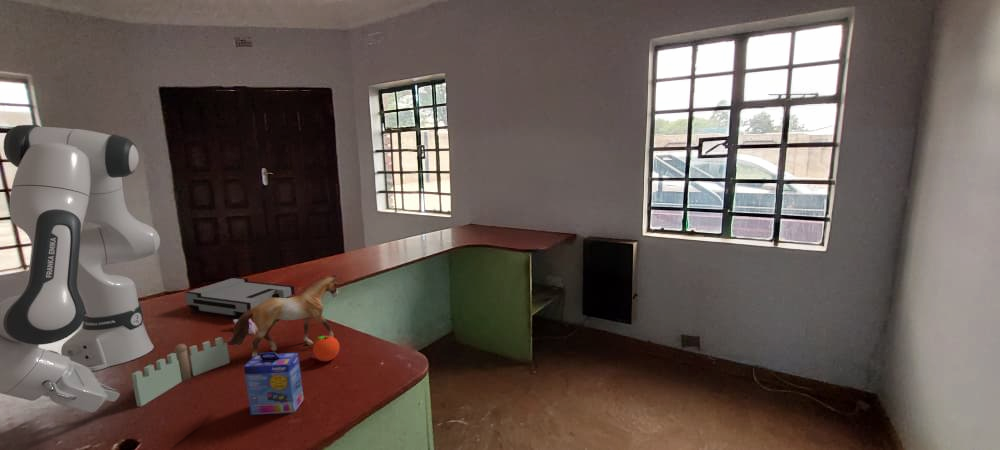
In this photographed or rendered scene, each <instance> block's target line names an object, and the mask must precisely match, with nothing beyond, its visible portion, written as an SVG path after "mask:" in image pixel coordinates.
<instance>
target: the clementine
mask: <svg viewBox="0 0 1000 450" xmlns="http://www.w3.org/2000/svg"><path fill="white" fill-rule="evenodd" d="M313 344H314V345H313V349H312V352H313V355H314V357H315V358H316V359H317V360H319V361H321V362H329V361H331V360H333V359H334V358H336V356H337V355H338V354H339V352H340V348H341V347H340V343H339V341H338V338H336V337H334V336H333V337H332V336H330V335H321V336H318V337H316V338H315V339H314V341H313Z"/></svg>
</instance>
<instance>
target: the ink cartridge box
mask: <svg viewBox="0 0 1000 450" xmlns="http://www.w3.org/2000/svg"><path fill="white" fill-rule="evenodd" d="M243 370H244V378H245V383H246V385H245V386H246V391H247V398H248V403H249V411H250V416H256V415H257V416H258V415H271V414H272V415H275V414H276V415H277V414H290V413H291V414H294V413H295V412H296V411H297V409H298V408H299V407H300V406H301V404H302V402H304V400H305V397H304V391H303V390H304V389H303V383H302V375H301V374H302V373H301V367H300V359H299V353H298V352H290V353H289V352H287V353H277V352H276V351H272V352H258V354H257V355H255V356H254V357H252V358H251V359H250V360H249V361H248V362H247V363H245V365H244V366H243Z"/></svg>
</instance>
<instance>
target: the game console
mask: <svg viewBox="0 0 1000 450" xmlns="http://www.w3.org/2000/svg"><path fill="white" fill-rule="evenodd" d="M293 295H295V287H294V285H287V284H286V285H285V284H277V283H276V284H275V283H270V282H269V283H268V282H258V281H252V280H251V281H249V279H248V278H247V277H240V276H239V277H238V276H235V277H233V278H228V279H225V280H223V281H218V282H216V283H212V284H209V285H207V286H206V285H205V286H202V287H200V288H195V289H193V290H190V291H187V292H186V291H185V292H184V298H185V305H189V309H193V313H195V314H196V313H197V314H203V315H208V314H209V316H215V317H216V316H217V317H223V318H230V319H239V318H240V316H241V315H243V314H244V313H245V312H246V311H248V310H250V309H251V308H254V307H256V306H258V305H259V304H260V303H262V302H264V301H265V300H267V299H270V298H290V297H291V296H293Z"/></svg>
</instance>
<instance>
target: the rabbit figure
mask: <svg viewBox="0 0 1000 450" xmlns="http://www.w3.org/2000/svg"><path fill="white" fill-rule="evenodd" d="M232 321H233V324H236V322H237V321H238V319H235V318H233V319H232ZM256 334H258V328H257V327H256V325H255V322H253V320H252V319H251V318H250V319H249V330H248V335H254V336H256Z"/></svg>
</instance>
